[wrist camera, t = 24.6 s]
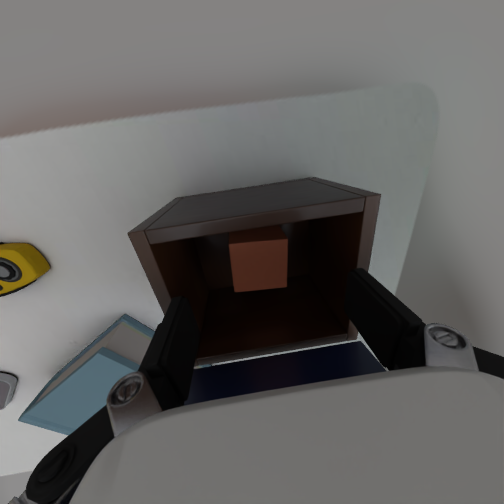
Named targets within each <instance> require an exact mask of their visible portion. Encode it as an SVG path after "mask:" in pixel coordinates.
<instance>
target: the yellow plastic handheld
mask: <svg viewBox="0 0 504 504" xmlns="http://www.w3.org/2000/svg"><path fill="white" fill-rule="evenodd" d="M49 269H50V266H49V264H48V262H47V261H46V259H45V258H44V257H43V256H42V255H41V254H40V252H39V251H38V250H36V249H35V248H34V247H33V246H31V245H30V244H26V243H9V244H4V243H3V242H0V297H2V296H6V295H9V294H11V293H14V292H17V291H19V290H21V289H23V288H25V287H27V286H28V285H30V284H32V283H33V282H35V281H36V280H37V278H39V277H40V276H42V275H43V274H45V273H46V272H47V271H48V270H49Z"/></svg>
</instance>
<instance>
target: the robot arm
mask: <svg viewBox="0 0 504 504" xmlns="http://www.w3.org/2000/svg"><path fill="white" fill-rule="evenodd" d="M344 311H345V313H346V315H347V316H348V317H349V319H350V320H351V322H352V323H353V325H354V326H355V327H356V329H357V330H358V332H359V333H360V334H361V336H362V337H363V339H364V340H365V342H366V343H367V344H368V346H369V347H370V349H371V350H372V352H373V353H374V354H375V356H376V357H377V359H378V360H379V361H380V363H381V364H382V365H383V366H384V367H385V368H386V367H387V368H388V370H389V371H385V372H379V373H372V374H366V375H360V376H354V377H347V378H341V379H335V380H329V381H323V382H316V383H310V384H304V385H298V386H292V387H286V388H280V389H274V390H268V391H263V392H257V393H251V394H245V395H239V396H233V397H228V398H222V399H216V400H211V401H206V402H200V403H195V404H190V405H185V406H184V401H187V400H188V397H189V392H190V386H191V381H192V376H193V370H194V365H195V360H196V354H197V349H198V344H199V338H200V331H199V328H198V325H197V322H196V319H195V317H194V314H193V311H192V308H191V306H190V303H189V300H188V298H185V297H184V296H179V297H173V298H172V300H171V302H170V304H169V307H168V309H167V311H166V314H165V316H164V318H163V321H162V323H160V324H159V325H158V326H157V329H156V331H155V333H154V335H153V337H152V340H151V342H150V344H149V346H148V349H147V351H146V353H145V355H144V358H143V360H142V362H141V364H140V367H139V369H138V371H137V372H132V373H129V374H127V375H125V376H123V377H122V378H121V379H120V380H118V381H117V382H116V383H115V384H114V386H113V387H112V388H111V390H110V391H109V393H108V396H107V399H106V405H105V406H104V407H103V408H101V409H100V410H99V411H98V412H97V413H95V414H94V415H93V416H92V417H90V418H89V419H88V420H87V421H86V422H84V423H83V424H82V425H81V426H80V427H78V428H77V429H76V430H75V431H74V432H72V433H71V434H70V435H69V436H67V437H66V438H65V439H64V440H63V441H61V442H60V443H59V444H58V445H57V446H55V447H54V448H53V449H52V450H51V451H50V452H49V453H48V454H47V455H46V456H44V458H43V459H42V460H41V461H40V462H39V464H38V465H37V466H36V468H35V469H34V471H33V473H32V474H31V476H30V478H29V481H28V483H27V486H26V490H25V491H24V492H23V494H21V496H20V497H19V498H17V497H14V498H13V499H12V500H11V501H10V502H9V503H8V504H504V357H502V356H499V355H496V354H493V353H490V352H488V351H485V350H482V349H479V348H476V347H473V346H472V344H471V342H470V340H469V339H468V338H467V337H466V336H465V335H464V334H462V333H461V332H460V331H458V330H456V329H454V328H452V327H450V326H447V325H444V324H438V323H431V324H427V325H426V324H424V323H423V322H422V320H421V319H420V318H419V317H418V316H417V315H416V314H415V313H414V312H412V311H411V310H410V309H409V308H408V307H407V306H405V305H404V304H403V303H402V302H401V301H400V300H399V299H398V298H396V297H395V296H394V295H393V294H392V293H391V292H390V291H388V290H387V289H386V288H385V287H384V286H383V285H382V284H380V283H379V282H378V281H377V280H376V279H375V278H374V277H373V276H371V275H370V274H369V273H368V272H367V271H366V270H365V269H363V268H357V269H351V271H350V272H348V275H347V283H346V292H345V301H344Z"/></svg>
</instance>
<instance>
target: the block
mask: <svg viewBox="0 0 504 504" xmlns="http://www.w3.org/2000/svg"><path fill="white" fill-rule="evenodd" d="M229 253H230V261H231V269H232V277H233V285H234V292H243V291H253V290H263V289H273V288H283V287H287V263H288V238H287V237H286V235H285V234H284V232H283V231H282V229H281V228H280V226H279V225H274V226H268V227H261V228H255V229H248V230H242V231H235V232H229Z"/></svg>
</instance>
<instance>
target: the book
mask: <svg viewBox="0 0 504 504" xmlns="http://www.w3.org/2000/svg"><path fill="white" fill-rule="evenodd" d="M154 333H155V331H153V330H151V329H150V328H148V327H146V326H145V325H143V324H141V323H140V322H138V321H136V320H135V319H133V318H131V317H130V316H128V315H126V314H124V315H123V316H122V317H121V318H120V319H119V320H117V321H116V322H115V323H114V324H113V325H112V326H111V327H109V328H108V329H107V330H106V331H105V332H104V333H103V334H101V335H100V336H99V337H98V338H97V339H96V340H94V341H93V342H92V343H91V344H90V345H89V346H88V347H86V348H85V349H84V350H83V351H82V352H81V353H80V354H78V355H77V356H76V357H75V358H74V359H73V360H72V361H70V362H69V363H68V364H67V365H66V366H65V367H64V368H62V369H61V371H60V372H58V373H57V374H55V375H54V377H53V378H52V379H51V380H50V381H49V382H48V383H47V384H46V385H45V386H44V388H43V389H42V390H41V391H40V393H39V394H38V395H37V396H36V397H35V399H34V400H33V401H32V402H31V404H30V405H29V406H28V407H27V408H26V410H25V411H24V412H23V413H22V415H21V416H20V418H19V419H18V421H21V422H24V423H27V424H31V425H34V426H38V427H41V428H45V429H48V430H52V431H55V432H58V433H62V434H65V435H70V434H71V433H72V432H74V431H75V430H76V429H77V428H78V427H80V426H81V425H82V424H83V423H84V422H86V421H87V420H88V419H89V418H90V417H92V416H93V415H94V414H95V413H97V412H98V411H99V410H100V409H101V408H103V407H104V406H105V405H106V399H107V396H108V393H109V391H110V390H111V388H112V387H113V386H114V384H115V383H116V382H117V381H118V380H120V379H121V378H122V377H123V376H125V375H127V374H129V373H132V372H137V371H138V369H139V367H140V364H141V362H142V360H143V358H144V355H145V353H146V351H147V349H148V346H149V344H150V342H151V340H152V337H153V335H154ZM209 366H212V365H210V364H207V365H201V366H196V367H194V369H197V368H203V367H209Z"/></svg>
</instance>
